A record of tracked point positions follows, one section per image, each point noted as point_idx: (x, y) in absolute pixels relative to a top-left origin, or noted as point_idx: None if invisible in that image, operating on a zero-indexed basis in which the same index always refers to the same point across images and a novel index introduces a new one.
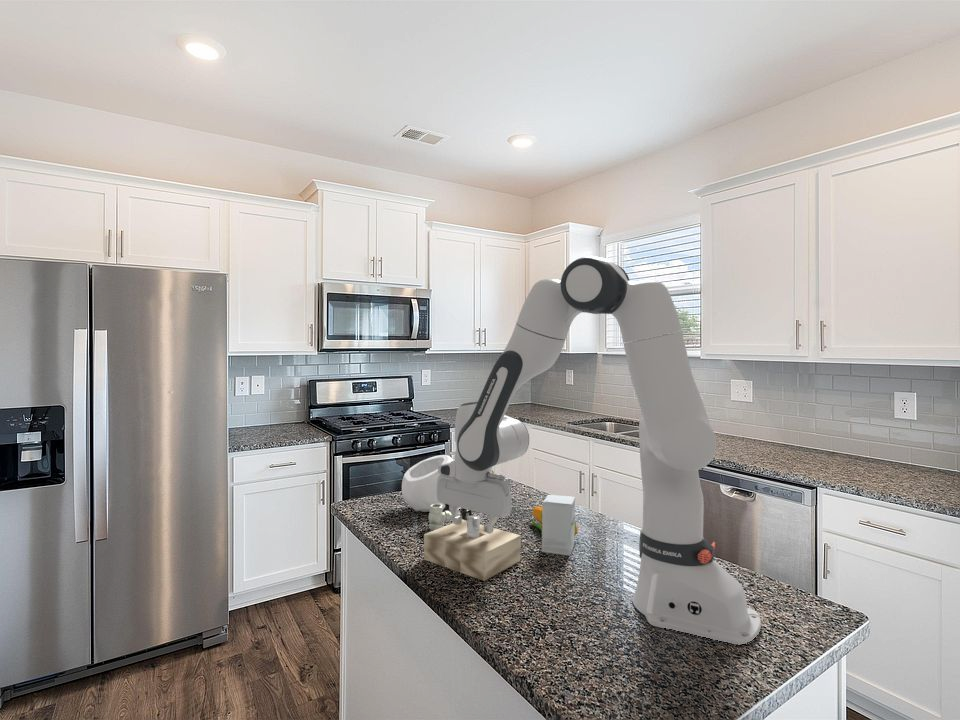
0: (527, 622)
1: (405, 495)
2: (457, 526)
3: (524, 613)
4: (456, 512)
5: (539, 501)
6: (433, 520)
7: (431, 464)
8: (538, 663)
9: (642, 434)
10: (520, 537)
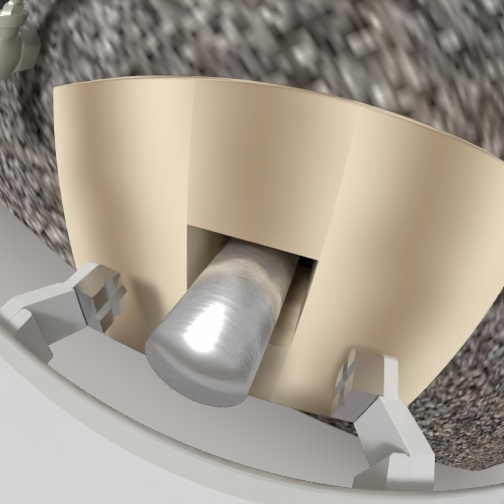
0: (478, 423)
1: None
2: (97, 202)
3: (478, 411)
4: (56, 313)
5: None
6: (3, 77)
7: None
8: (473, 456)
9: None
10: None
